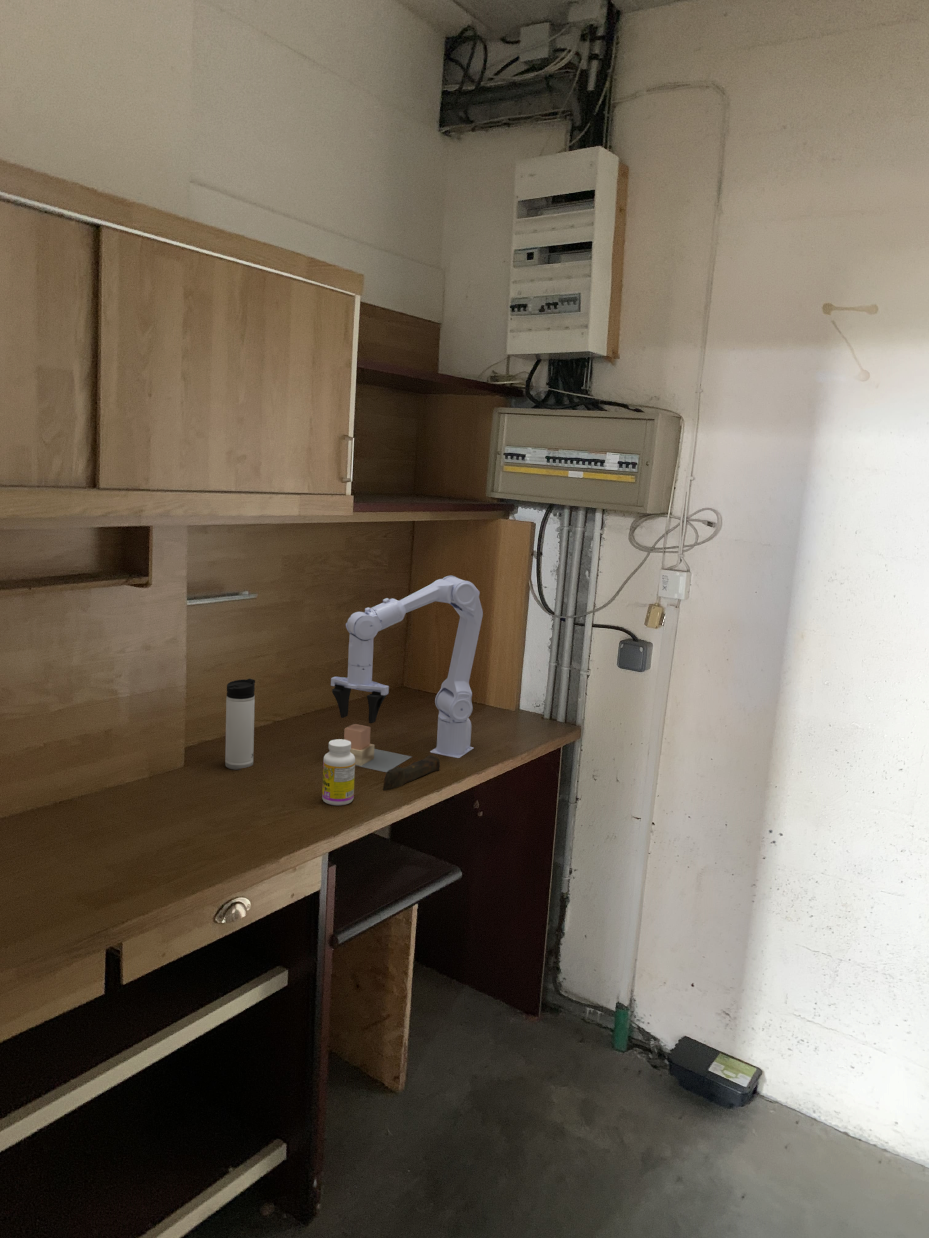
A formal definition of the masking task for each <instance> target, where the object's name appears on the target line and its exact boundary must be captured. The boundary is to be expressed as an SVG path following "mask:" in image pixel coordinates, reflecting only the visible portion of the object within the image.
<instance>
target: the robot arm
mask: <svg viewBox="0 0 929 1238" xmlns="http://www.w3.org/2000/svg"><path fill="white" fill-rule="evenodd" d="M480 593H481V592H480V590H479V589H478V588H477V587H476V586H475V584H474V583H473V582H471V581H469V580H464V579H461V578H459V577H457V576H455V575H447V576H444V577H443V578H439V579H436V580H435V581H433V582H432V583H430V584H429V585H427V586H424V587H423V588H421V589H419V590H417V591H415V592H413V593H410V594H409V595H408V596H405V597H404V598H401V599H399V600H397V599H396V598H392V597H391V598H388V597H386V598H384V599H382V602H381V603H379V604H377V605H374V606H372V607H365V608H364V611H356V612H353V613H352V614H351V615H350V616H349V617H348V619H347V622H346V623H345V628H346V630H347V632H348V633H349V636H348V637H349V640H348V641H349V642H348V656H347V657H348V660H347V677H344V676H341V677H340V676H333V677H331V678H330V686H331V687H334V688H332V689H331V693H332V695H333V697H334V698H335V701H336V703H337V707H338V711H339V714H340V718H341V719H344V718H346V717H348V715H349V707H350V706H349V702H350V696H351V690H358V691H361V692H362V691H363V692H368V693H370V694H367V695H366V699H367V704H368V724H374V723H375V722H376V721H377V717H378V714H379V711H380V708H381V706H382V704H383V702H384V700H385V698H386V697H387V695H389V692H390V691H389V689H390V686H389V685H385V684H382V683H379V682H377V681H373V668H374V667H373V666H374V665H373V659H374V638H375V637H376V636H377V634H379V633H378V632H380V631H382V630H385V629H387V628H389V627H391V626H393V625H395V624H397V623H400V622H402V621H403V620H404V618H405V616H406V613H409V612H412V611H414V610H416V609H419V608H422V607H424V606H427V605H429V604H432V603H434V602H439V603H446V604H449V605H450V606H452V607H453V609H454V610H455V612H456V613H457V614H458V615H459V620H458V625H457V626H458V627H457V630H456V636H455V640H454V643H453V644H454V646H453V649H452V653H451V660H450V664H449V669H448V673H447V678H446V679H445V680H443V682H442V683H441V685H440V689H439V691H438V692H437V694H436V695H435V699H434V703H435V704H434V705H435V707H436V708H437V710H438V717H437V732H436V733H437V736H436V737H437V738H436V747H435V748H433V749H432V750H430V751H429V752H430V753H431V754H436V755H441V756H445V757H451V758H454V759H455V758H456V759H460V758H462V757H463V756H464V755H466V754H468V753H469V752H471V751H472V750H473V749H474V747H472V746H471V739H472V721H471V720H470V718H469V717H470V716H471V715H472V713H473V703H472V697H473V692H472V689H471V687H470V686H471V685H470V679H471V673H472V669H473V664H474V659H475V655H476V650H477V645H478V641H479V636H480V635H479V634H480V631H481V625H482V620H483V616H484V613H483V612H484V610H483V607H482V603H481V600H480Z"/></svg>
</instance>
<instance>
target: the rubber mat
mask: <svg viewBox="0 0 929 1238" xmlns="http://www.w3.org/2000/svg"><path fill="white" fill-rule="evenodd" d="M409 759H412V756H411V755H406V754H401V753H397V752H393V751H392V752H391V751H387V750H382V749H377V748H374V759H372V760H371V761H369V762H367V763H365V764H363V765H362V766H360V765H355V767H361V768H364V769H370V770H374V771H378V772H383V773H387V771H389V770H390V769H394V768H395V767H399V765H401V764H403V763H404V762H406V761H407V760H409Z"/></svg>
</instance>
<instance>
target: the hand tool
mask: <svg viewBox="0 0 929 1238" xmlns="http://www.w3.org/2000/svg"><path fill="white" fill-rule="evenodd" d="M440 764H441V762H440V760H439V758H438V757H436V756H434V755H428V756H427V755H426V756H425V758H424V759H420V760H418V761H414V762H413V763H411V764H409V765H406V766H405V767H400V766H396V767H395V768H393V769H390V770H389V771H387V772H385V776H384V780H383V789H382V790H383V791H388V790H392V789H395V788H398V787H402V786H403V785H405V784H406V783H409V782H412V781H414V780H416V779H419V778H422V777H424V776H425V775H428V774H431V773H432V772H435V771H440V766H441V765H440Z"/></svg>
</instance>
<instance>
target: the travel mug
mask: <svg viewBox="0 0 929 1238" xmlns="http://www.w3.org/2000/svg"><path fill="white" fill-rule="evenodd" d="M255 684H256V680H255V679H253V678H247V679H235V680H232V681H230V682H228V683H227V684H226V697H225V698H226V700H225V707H226V708H225V711H226V712H225V754H224V755H225V759H224V760H225V761H224V762H225V763H224V764H225V768H228V769H229V770H234V771H235V770H236V771H237V770H238V771H242V770H243V769H245V768H249V767H252V766H253V765H254V745H255V743H254V741H255V738H254V737H255V703H256V702H255V701H256V700H255V698H256V697H255V696H256V695H255V689H256V688H255Z"/></svg>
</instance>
